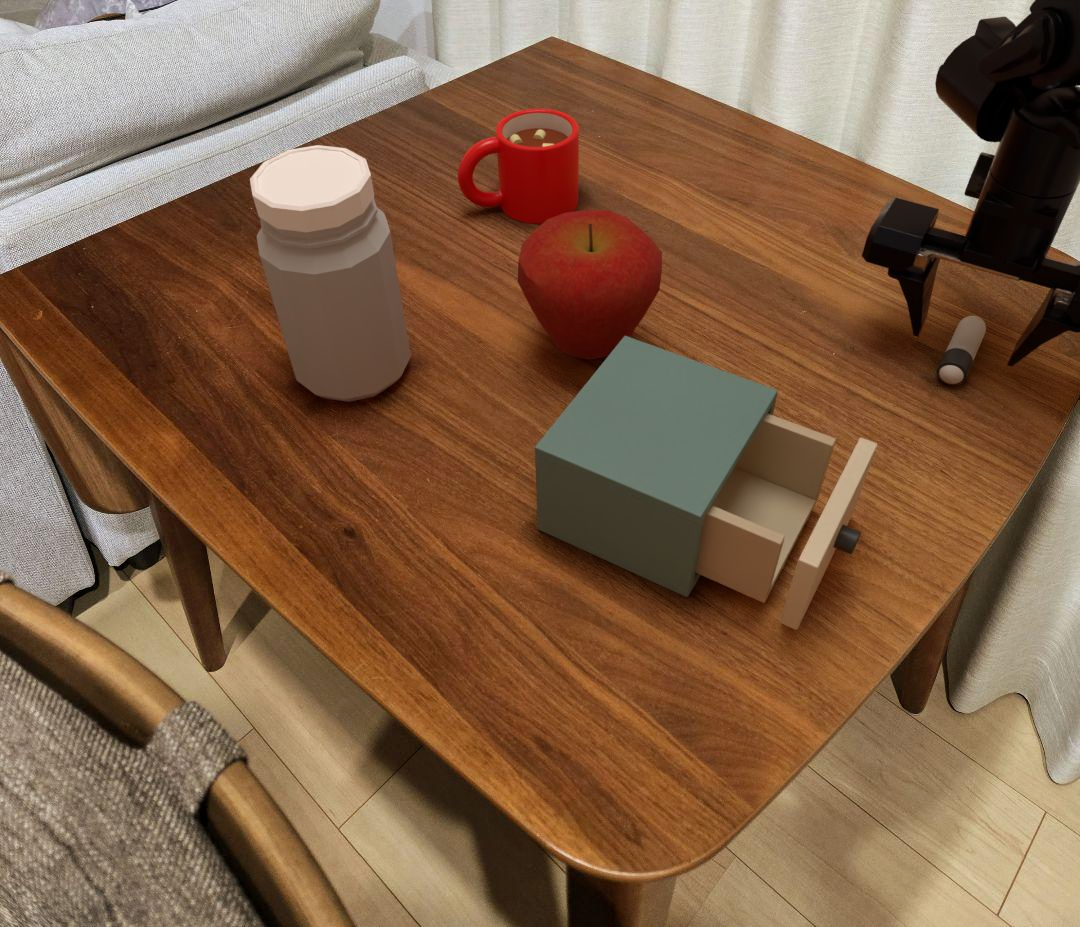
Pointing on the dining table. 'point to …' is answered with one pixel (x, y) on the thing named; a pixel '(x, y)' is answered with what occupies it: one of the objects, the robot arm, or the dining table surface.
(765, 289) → the dining table surface
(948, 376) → the marker
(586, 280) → the apple
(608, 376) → the cabinet
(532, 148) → the mug
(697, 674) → the dining table surface
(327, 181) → the jar
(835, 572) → the dining table surface
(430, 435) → the dining table surface
